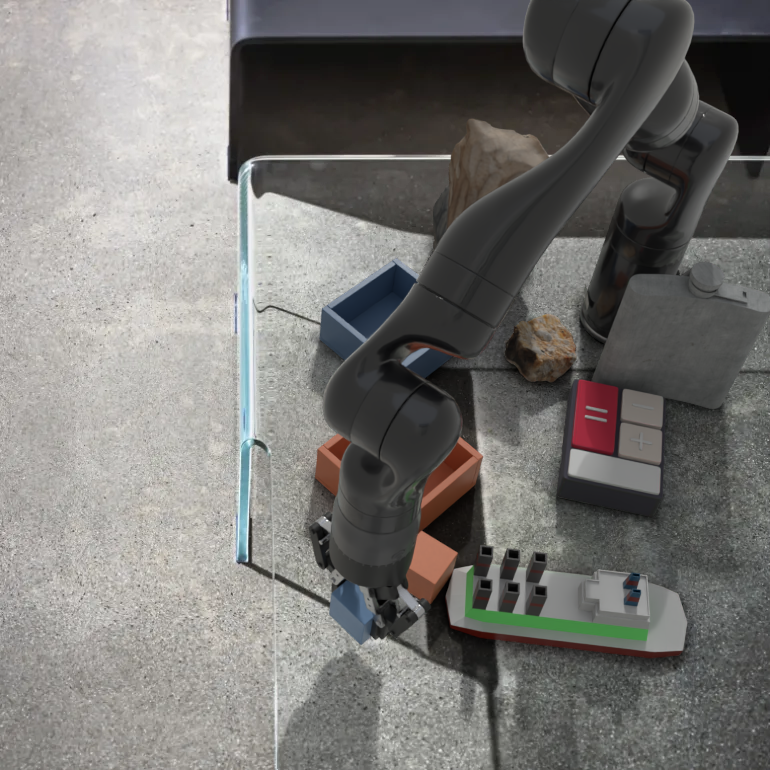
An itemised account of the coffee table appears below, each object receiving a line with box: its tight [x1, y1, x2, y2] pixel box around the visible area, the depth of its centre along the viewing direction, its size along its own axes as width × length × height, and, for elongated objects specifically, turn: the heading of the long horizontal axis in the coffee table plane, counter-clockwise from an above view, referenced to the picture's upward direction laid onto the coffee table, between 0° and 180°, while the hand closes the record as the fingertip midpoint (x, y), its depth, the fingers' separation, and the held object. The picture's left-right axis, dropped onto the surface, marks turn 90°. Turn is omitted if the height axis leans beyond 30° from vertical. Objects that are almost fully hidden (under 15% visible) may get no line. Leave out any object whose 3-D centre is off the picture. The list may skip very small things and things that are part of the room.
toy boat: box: [444, 544, 688, 659], centre depth 116 cm, size 8×25×8 cm, turn 85°
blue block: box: [328, 580, 373, 646], centre depth 111 cm, size 4×4×4 cm
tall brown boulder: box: [432, 118, 550, 250], centre depth 141 cm, size 13×13×20 cm
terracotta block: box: [406, 530, 459, 605], centre depth 119 cm, size 4×4×4 cm
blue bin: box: [318, 257, 454, 379], centre depth 137 cm, size 13×13×6 cm
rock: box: [503, 313, 578, 383], centre depth 139 cm, size 9×6×10 cm
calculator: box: [556, 378, 667, 518], centre depth 131 cm, size 11×4×15 cm
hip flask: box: [591, 260, 770, 410], centre depth 131 cm, size 16×4×20 cm, turn 84°
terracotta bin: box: [314, 433, 484, 534], centre depth 125 cm, size 13×13×6 cm
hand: (361, 613), depth 113 cm, fingers closed on blue block, 4 cm apart
